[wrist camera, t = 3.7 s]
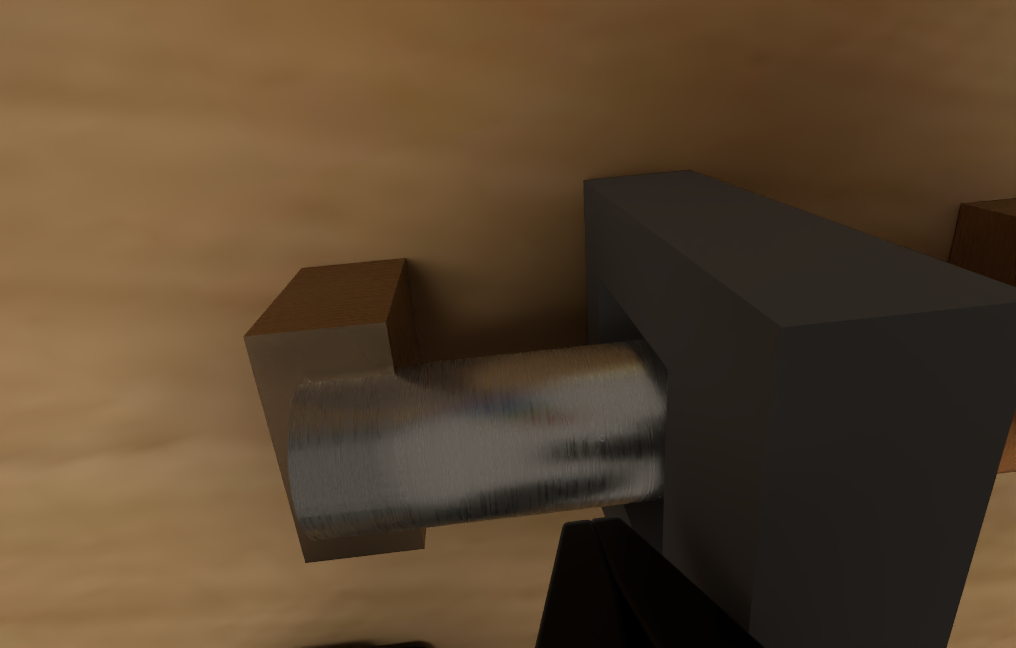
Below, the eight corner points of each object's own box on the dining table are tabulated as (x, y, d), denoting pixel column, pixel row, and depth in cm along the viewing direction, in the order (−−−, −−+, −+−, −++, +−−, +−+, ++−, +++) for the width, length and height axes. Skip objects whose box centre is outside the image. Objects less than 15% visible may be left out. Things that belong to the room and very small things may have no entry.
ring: (591, 478, 16) (723, 860, 8) (583, 180, 13) (781, 327, 5) (678, 468, 16) (891, 835, 8) (690, 170, 13) (1047, 298, 5)
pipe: (341, 449, 16) (281, 638, 10) (301, 268, 14) (202, 385, 8) (1005, 374, 16) (1269, 513, 11) (1055, 194, 14) (1403, 257, 9)
